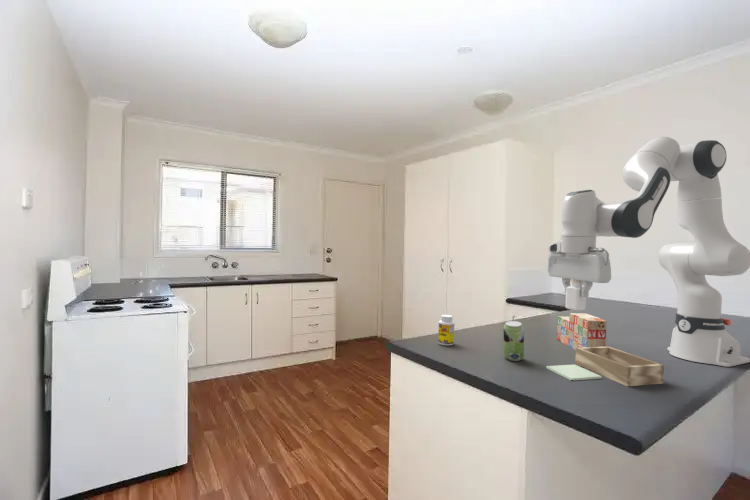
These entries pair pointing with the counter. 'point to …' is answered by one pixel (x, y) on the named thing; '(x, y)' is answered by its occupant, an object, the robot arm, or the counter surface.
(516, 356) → the beverage can
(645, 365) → the open wooden box
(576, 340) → the stack of blocks
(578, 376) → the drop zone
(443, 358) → the counter surface
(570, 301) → the salt shaker
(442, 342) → the supplement bottle
